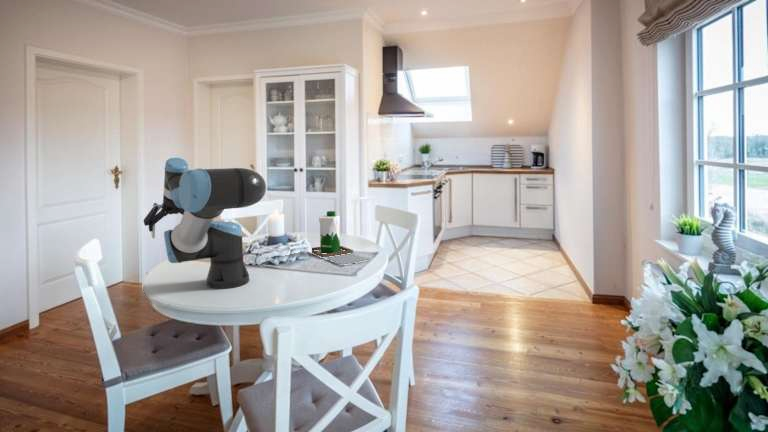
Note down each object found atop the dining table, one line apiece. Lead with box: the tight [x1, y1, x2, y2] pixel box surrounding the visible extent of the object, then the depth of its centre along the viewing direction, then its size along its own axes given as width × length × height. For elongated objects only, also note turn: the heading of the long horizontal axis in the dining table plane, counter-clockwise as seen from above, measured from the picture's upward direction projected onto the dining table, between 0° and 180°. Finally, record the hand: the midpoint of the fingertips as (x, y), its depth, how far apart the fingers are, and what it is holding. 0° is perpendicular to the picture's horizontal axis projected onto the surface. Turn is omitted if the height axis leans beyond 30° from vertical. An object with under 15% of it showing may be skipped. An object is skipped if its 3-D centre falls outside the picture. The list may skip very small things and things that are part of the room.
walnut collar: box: [311, 245, 354, 257], centre depth 212 cm, size 16×16×2 cm
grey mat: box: [327, 253, 370, 265], centre depth 198 cm, size 14×14×1 cm
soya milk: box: [318, 210, 341, 254], centre depth 211 cm, size 9×9×20 cm
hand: (171, 234), depth 180 cm, fingers open, 13 cm apart
